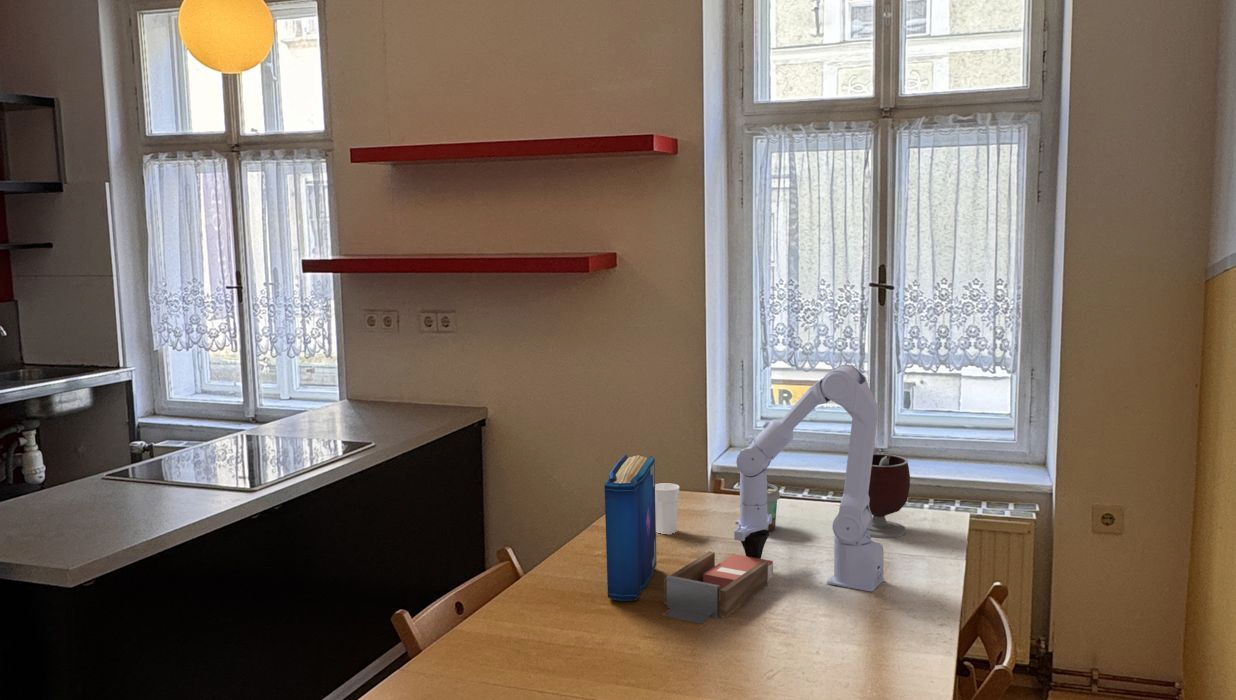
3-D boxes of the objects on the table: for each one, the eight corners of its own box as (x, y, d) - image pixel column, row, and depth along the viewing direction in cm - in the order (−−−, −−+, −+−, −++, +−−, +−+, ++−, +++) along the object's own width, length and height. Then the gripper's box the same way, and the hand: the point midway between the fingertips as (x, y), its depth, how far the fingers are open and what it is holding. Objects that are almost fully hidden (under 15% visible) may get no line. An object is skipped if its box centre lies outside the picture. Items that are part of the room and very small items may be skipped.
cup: (647, 529, 240) (646, 485, 238) (671, 525, 242) (671, 481, 241) (660, 537, 234) (659, 491, 232) (684, 533, 237) (684, 488, 235)
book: (639, 606, 191) (636, 479, 188) (603, 604, 193) (600, 478, 190) (657, 568, 212) (655, 454, 209) (624, 566, 214) (622, 453, 211)
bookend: (719, 616, 185) (719, 585, 185) (707, 625, 181) (707, 593, 181) (669, 605, 191) (669, 575, 191) (656, 614, 187) (655, 583, 186)
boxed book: (773, 577, 207) (773, 560, 207) (744, 598, 195) (744, 581, 195) (733, 569, 212) (733, 553, 211) (703, 590, 200) (703, 573, 200)
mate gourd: (843, 521, 243) (844, 441, 241) (901, 521, 243) (902, 441, 240) (856, 541, 228) (857, 456, 226) (917, 541, 227) (919, 455, 225)
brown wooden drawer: (767, 585, 201) (767, 561, 200) (725, 617, 185) (725, 591, 184) (709, 574, 208) (709, 551, 207) (664, 604, 192) (664, 579, 191)
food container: (783, 536, 233) (783, 494, 232) (757, 536, 233) (757, 494, 232) (776, 520, 245) (776, 481, 244) (751, 521, 245) (751, 481, 244)
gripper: (750, 491, 217) (751, 551, 219) (720, 508, 205) (721, 571, 207) (780, 496, 213) (780, 557, 215) (752, 512, 201) (752, 577, 203)
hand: (753, 564), depth 210 cm, fingers closed
